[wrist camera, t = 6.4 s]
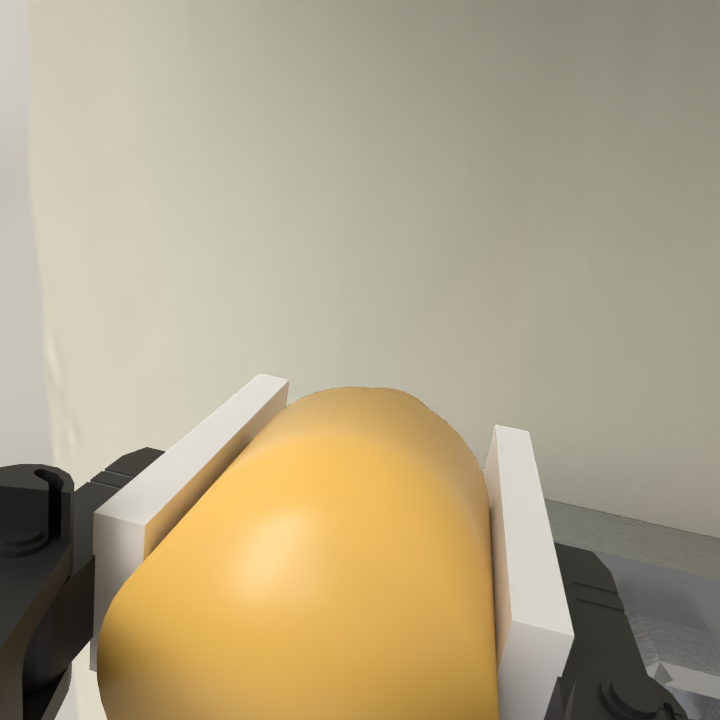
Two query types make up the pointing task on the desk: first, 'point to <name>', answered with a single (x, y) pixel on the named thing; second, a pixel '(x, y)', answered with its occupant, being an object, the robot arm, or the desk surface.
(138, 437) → the desk surface
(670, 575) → the box
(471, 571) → the yellow capsule
